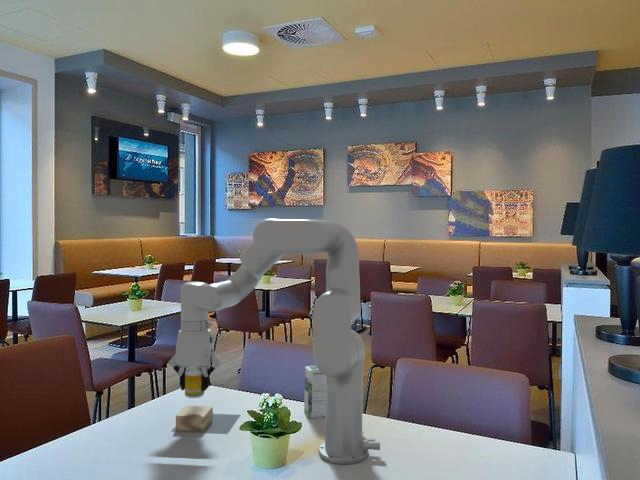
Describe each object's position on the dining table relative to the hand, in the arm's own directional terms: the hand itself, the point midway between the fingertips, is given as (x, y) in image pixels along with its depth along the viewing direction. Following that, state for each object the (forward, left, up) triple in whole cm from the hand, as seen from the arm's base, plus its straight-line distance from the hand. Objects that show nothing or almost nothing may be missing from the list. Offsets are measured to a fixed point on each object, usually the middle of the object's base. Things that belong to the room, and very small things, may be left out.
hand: (194, 388), depth 144 cm
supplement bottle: (0, 0, -2) cm, 2 cm away
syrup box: (-33, -15, -12) cm, 38 cm away
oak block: (0, 0, -10) cm, 10 cm away
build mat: (-3, -2, -12) cm, 12 cm away
